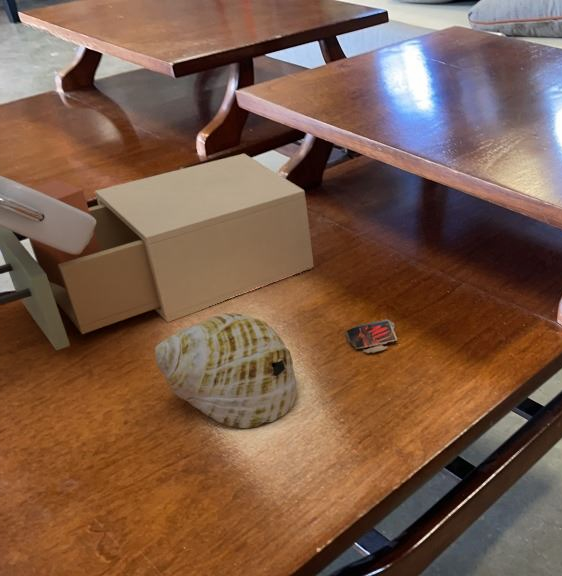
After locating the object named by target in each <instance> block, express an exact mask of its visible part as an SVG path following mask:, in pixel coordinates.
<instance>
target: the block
mask: <svg viewBox="0 0 562 576" xmlns="http://www.w3.org/2000/svg"><path fill="white" fill-rule="evenodd" d="M31 188H32V189H34V190H37V191H39V192H41V193H43V194H46V195H48V196H50V197H52V198H55V199H57V200H59V201H61V202H64V203H66V204H68V205H70V206H72V207H75V208H77V209H79V210H81V211H84V212H86V213H88V214H89V215H90V213H89V209H88V208H89V206H88V203H87V198H86V195H85V191H84V190H83V189H82V188H80V187H77V186H74V185H72V184H69V183H66V182H64V181H61V180H59V179H54V180H52V181H49V182H46V183H43V184H40V185H37V186H34V187H31ZM31 242H32V245H33V248H34V251H35V254H36V257H37V260H38V263H39V266H40V267H41V268H42V269H43V271H44V272H45V273H46V275H47V278H48V281H50V282H52V283H54V284H56V285H58V286H61V287H63V288H65V285H64V282H63V279H62V276H61V273H60V270H59V267H58V264H61V263H64V262H68V261H71V260H74V259H78V258H81V257H84V256H88V255H91V254H95V253H98V252H100V248H99V245H98V241H97V237H96V234H95V230H94V231H93V236H92V238H91V240H90V242H89V244H88V245H87V246H85V248H84V250H83V251H82V252H81V253H80V254H77V255H74V254H69V253H66V252H63V251H61V250H58V249H56V248H53V247H51V246H48V245H46V244H43V243H41V242H38V241H35V240H33V239H31ZM65 289H66V288H65Z"/></svg>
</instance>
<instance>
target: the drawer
mask: <svg viewBox="0 0 562 576" xmlns="http://www.w3.org/2000/svg"><path fill="white" fill-rule="evenodd" d="M88 209H89V213H90V215H91V216H92V217H94V218H95V219H96V226H95V229H94V230H95V234H96V237H97V241H98V245H99V248H100V252H98V253H95V254H91V255H88V256H84V257H81V258H78V259H74V260H71V261H68V262H64V263H61V264H58V267H59V270H60V273H61V276H62V279H63V282H64V285H65V288H66V289H65V288H63V287H61V286H58V285H56V284H54V283H52V282H50V281H48V278H47V275H46V273H45V272H44V271H43V269H42V268H41V267H40V266H39V263H38V260H37V257H36V254H35V251H34V248H33V245H32V242H31V239H30V238H28V240H29V244H30V247H31V249H32V252H33V255H34V257H33V256H32V254H31V253H30V252H29V251H28V249H26V248H25V246H24V244H23V243H22V242H21V241H20V240H19V238H18V237H17V235H15V233H14V232H13V231H10V230H8V229H5V228H3V227H0V253H1V256H2V258H3V260H4V264H2V265H0V275H3V274H7V273H8V274H9V277H10V281H11V282H12V285H13V288H14V291H15V292H11V293H7V294H4V295H1V296H0V307H1V306H4V305H7V304H10V303H14V302H17V301H20V302H21V303H22V304H23V306H24V307H25V309H26V310H27V311H28V313H29V315H30V316H31V317H32V319H33V320H34V321H35V323H36V324H37V326H38V327H39V329H40V330H41V331H42V333H43V334H44V335H45V337H46V338H47V340H48V341H49V342H50V344H51V345H52V347H53V348H54V349H55V351H59V350H62V349H65V348H68V347H70V346H71V344H70V340H69V337H68V335H67V331H66V329H65V325H64V323H63V320H62V317H61V314H60V311H59V308H58V306H59V307H60V308H61V310H62V311H63V313H65V315H66V316H67V317H68V318H69V319H70V321H71V322H72V324H73V325H74V326H75V327H76V329H77V330H78V331H79V332H80V334H81V335H85V334H86V333H87V334H88V333H90V332H92V331H95V330H98V329H101V328H104V327H107V326H110V325H113V324H115V323H118V322H121V321H125V320H127V319H129V318H132V317H136V316H138V315H141V314H144V313H146V312H150V311H153V310H155V308H158V307H161V305H160V301H159V297H158V293H157V289H156V285H155V282H154V278H153V274H152V270H151V266H150V262H149V258H148V254H147V250H146V246H145V241H143V240H142V239H141V238H140V237H139V236H138V235H137V234H136V233H135V232H134V231H133V230H131V229H130V228H129V227H128V226H127V225H126V224H125V223H124V222H123V221H122V220H121V219H120V218H118V217H117V216H116V215H115V214H114V213H113V212H112V211H111V210H110V209H109V208H108V207H107V206H105V205H104V204H102V205H98V204H97V205H93V206H91V207H88ZM57 304H58V306H57Z"/></svg>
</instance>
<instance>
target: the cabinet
mask: <svg viewBox="0 0 562 576" xmlns="http://www.w3.org/2000/svg"><path fill="white" fill-rule="evenodd" d="M94 193H95V197H96V201H97V206H98V205H102V204H104V205H105V206H107V207H108V208H109V209H110V210H111V211H112V212H113V213H114V214H115V215H116V216H117V217H118V218H120V219H121V220H122V221H123V222H124V223H125V224H126V225H127V226H128V227H129V228H130V229H131V230H133V231H134V232H135V233H136V234H137V235H138V236H139V237H140V238H141V239H142V240H143V241H145V246H146V250H147V254H148V258H149V262H150V266H151V270H152V274H153V278H154V282H155V285H156V289H157V293H158V297H159V301H160V305H161V307H158V308H155V309H154V311H155V312H157V314H159V315H160V317H161V318H162V319H163V320H164V321H165V322H166V323H170V322H173V321H175V320H178V319H180V318H184V317H186V316H189V315H191V314H194V313H197V312H200V311H203V310H205V309H207V308H210V307H209V306H211V307H213V306H216V305H218V304H217V303H219V304H221V303H220V302H222V303H224V302H225V301H224V300H227V299H229V298H230V297H233V296H236V295H239V294H242V293H244V292H247V291H250V290H252V289H255V288H256V287H259V286H260V287H261V286H263V285H266V284H268V283H271V282H274V281H277V280H280V279H282V278H285V277H287V276H290V275H292V274H294V273H298V272H300V271H303V270H305V269H307V268H311V267H314V268H315V266H314V257H313V248H312V239H311V232H310V231H311V230H310V222H309V215H308V208H307V207H308V206H307V199H306V192H305V190H304V189H303V188H301V187H300V186H298V185H296V184H295V183H293V182H292V181H290V180H288V179H286V178H285V177H284V176H281V175H280V174H278V173H277V172H275V171H274V170H272V169H270V168H269V167H267V166H265V165H264V164H262V163H261V162H259V161H258V160H256V159H254V158H253V157H251V156H249V155H247V154H246V153H241V154H237V155H233V156H228V157H225V158H222V159H215V160H212V161H209V162H208V161H207V162H205V163H200V164H196V165H193V166H189V167H185V168H181V169H177V170H173V171H172V170H171V171H169V172H164V173H160V174H157V175H152V176H148V177H145V178H141V179H137V180H132V181H128V182H125V183H120V184H116V185H113V186H109V187H104V188H100V189H97V190H94ZM223 301H224V302H223ZM227 301H228V300H227ZM215 304H216V305H215ZM212 305H213V306H212ZM202 309H203V310H202Z"/></svg>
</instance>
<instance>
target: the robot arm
mask: <svg viewBox="0 0 562 576" xmlns="http://www.w3.org/2000/svg"><path fill="white" fill-rule="evenodd" d="M32 188H33V187H30V186H28V185H25V184H22V183H20V182H18V181H15V180H13V179H10V178H7V177H5V176H3V175H0V227H3V228H5V229H8V230H10V231H12V232H13V233H14V234H15V233H16V234H17V235H20V236H23V237H26V238H28V239H29V238H30V239H33V240H35V241H38V242H41V243H43V244H46V245H48V246H51V247H53V248H56V249H58V250H61V251H63V252H66V253H69V254H74V255H77V254H80V253H81V252H82V251H83V250H84V248H85V246H87V245H88V244H89V242H90V240H91V238H92V236H93V231H94V229H95V226H96V219H95V218H94V217H92V216H91V215H89V214H88V213H86V212H84V211H81V210H79V209H77V208H75V207H72V206H70V205H68V204H66V203H64V202H61V201H59V200H57V199H55V198H52V197H50V196H48V195H46V194H43V193H41V192H39V191H37V190H34V189H32Z"/></svg>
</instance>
